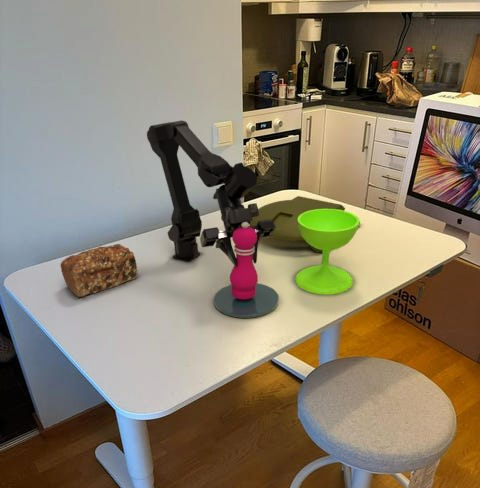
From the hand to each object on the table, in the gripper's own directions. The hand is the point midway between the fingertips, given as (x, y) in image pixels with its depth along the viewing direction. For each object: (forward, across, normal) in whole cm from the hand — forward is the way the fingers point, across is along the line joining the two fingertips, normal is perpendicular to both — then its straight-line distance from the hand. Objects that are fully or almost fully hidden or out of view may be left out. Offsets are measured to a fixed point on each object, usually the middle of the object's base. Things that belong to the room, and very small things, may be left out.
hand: (246, 264), depth 123 cm
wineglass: (+5, +24, +11) cm, 27 cm away
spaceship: (-18, +32, +35) cm, 51 cm away
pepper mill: (+6, 0, +8) cm, 9 cm away
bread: (-10, -35, +27) cm, 45 cm away
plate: (+7, 0, +9) cm, 12 cm away
